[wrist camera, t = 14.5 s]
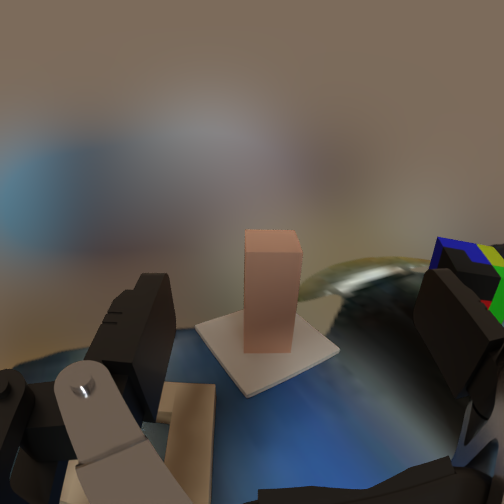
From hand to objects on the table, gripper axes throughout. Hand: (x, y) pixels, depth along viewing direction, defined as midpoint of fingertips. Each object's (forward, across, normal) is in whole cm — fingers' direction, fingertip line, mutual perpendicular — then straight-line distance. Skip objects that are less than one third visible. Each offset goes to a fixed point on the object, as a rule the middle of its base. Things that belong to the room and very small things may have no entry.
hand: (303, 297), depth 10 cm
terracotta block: (+19, 0, +20) cm, 27 cm away
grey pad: (+19, 0, +20) cm, 28 cm away
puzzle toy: (+22, -28, +21) cm, 41 cm away
